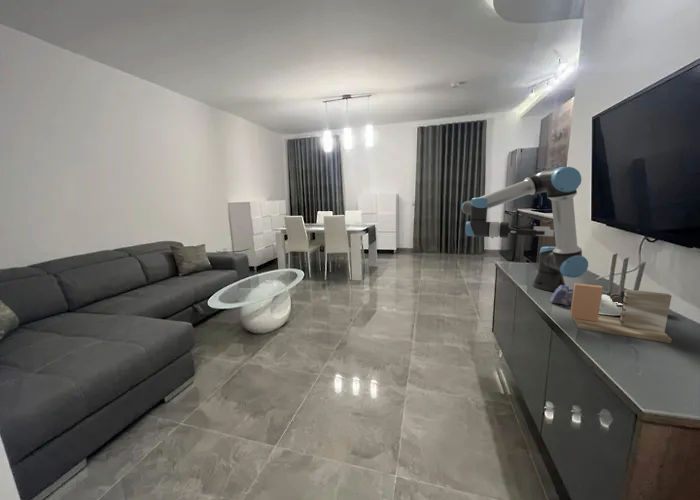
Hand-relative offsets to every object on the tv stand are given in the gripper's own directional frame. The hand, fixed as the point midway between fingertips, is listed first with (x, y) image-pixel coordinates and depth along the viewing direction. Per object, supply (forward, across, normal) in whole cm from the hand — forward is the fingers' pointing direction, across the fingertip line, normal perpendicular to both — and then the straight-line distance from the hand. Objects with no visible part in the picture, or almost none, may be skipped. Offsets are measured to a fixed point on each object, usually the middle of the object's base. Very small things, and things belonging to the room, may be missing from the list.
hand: (551, 231), depth 135 cm
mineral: (+10, -5, -35) cm, 37 cm away
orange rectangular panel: (+12, +18, -33) cm, 39 cm away
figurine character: (+34, -10, -36) cm, 50 cm away
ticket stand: (+22, +18, -35) cm, 45 cm away
